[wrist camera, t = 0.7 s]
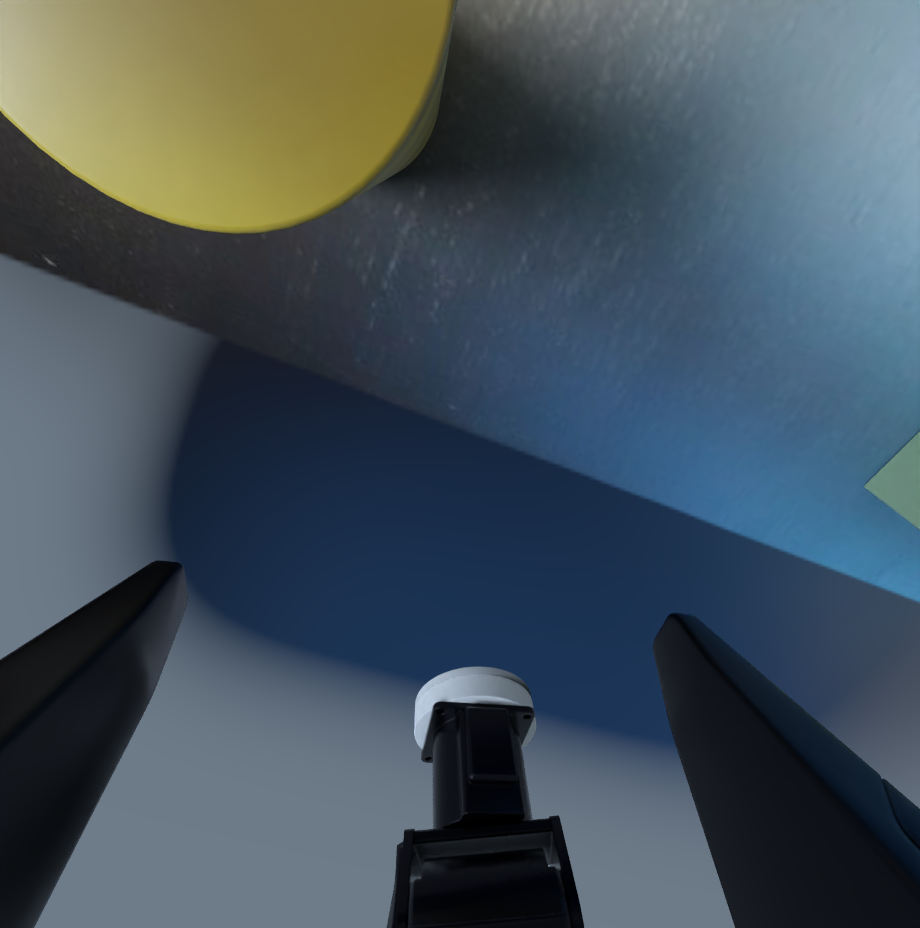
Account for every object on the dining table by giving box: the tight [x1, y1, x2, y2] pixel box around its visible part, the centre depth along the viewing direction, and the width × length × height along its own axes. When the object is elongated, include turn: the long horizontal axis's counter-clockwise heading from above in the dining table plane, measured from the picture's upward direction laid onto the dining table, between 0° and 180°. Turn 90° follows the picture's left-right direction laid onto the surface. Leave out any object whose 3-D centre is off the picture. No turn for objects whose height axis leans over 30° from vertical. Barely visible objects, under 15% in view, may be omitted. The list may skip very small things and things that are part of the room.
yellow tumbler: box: [0, 0, 457, 234], centre depth 10 cm, size 5×5×13 cm
